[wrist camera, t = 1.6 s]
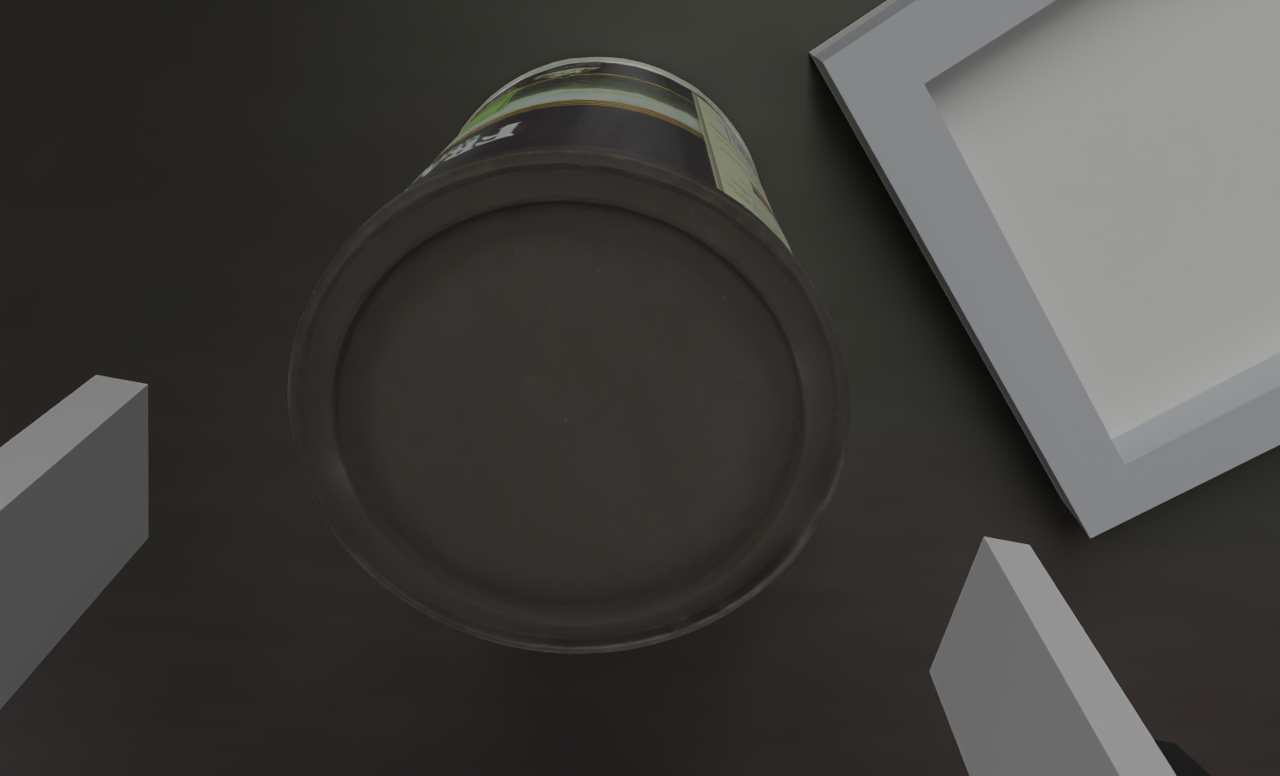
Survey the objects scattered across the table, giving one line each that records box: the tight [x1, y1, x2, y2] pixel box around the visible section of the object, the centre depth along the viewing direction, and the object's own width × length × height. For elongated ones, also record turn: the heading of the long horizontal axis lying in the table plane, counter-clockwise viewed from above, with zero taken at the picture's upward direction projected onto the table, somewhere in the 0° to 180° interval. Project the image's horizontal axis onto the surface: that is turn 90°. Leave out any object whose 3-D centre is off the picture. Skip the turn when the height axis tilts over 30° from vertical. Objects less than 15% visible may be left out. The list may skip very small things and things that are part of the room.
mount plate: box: [809, 0, 1280, 538], centre depth 28 cm, size 18×18×2 cm
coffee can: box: [287, 57, 850, 654], centre depth 24 cm, size 10×10×14 cm
